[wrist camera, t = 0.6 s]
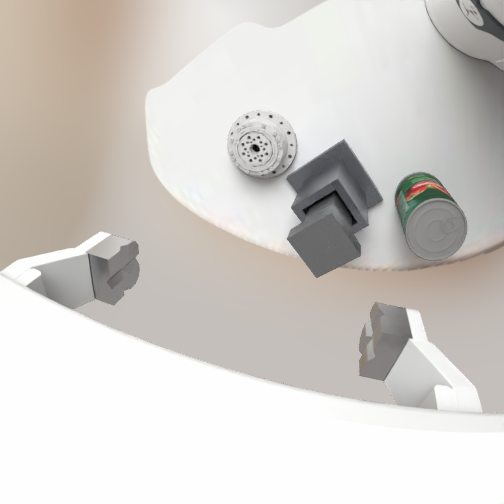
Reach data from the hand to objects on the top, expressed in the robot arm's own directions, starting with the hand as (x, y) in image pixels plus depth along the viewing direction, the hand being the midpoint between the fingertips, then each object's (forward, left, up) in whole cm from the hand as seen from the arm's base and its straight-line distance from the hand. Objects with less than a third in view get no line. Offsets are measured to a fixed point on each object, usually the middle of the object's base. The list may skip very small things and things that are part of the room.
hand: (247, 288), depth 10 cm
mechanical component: (+9, -4, -37) cm, 38 cm away
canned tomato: (-6, +15, -37) cm, 40 cm away
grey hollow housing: (+4, +7, -36) cm, 37 cm away
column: (+4, +7, -35) cm, 36 cm away
